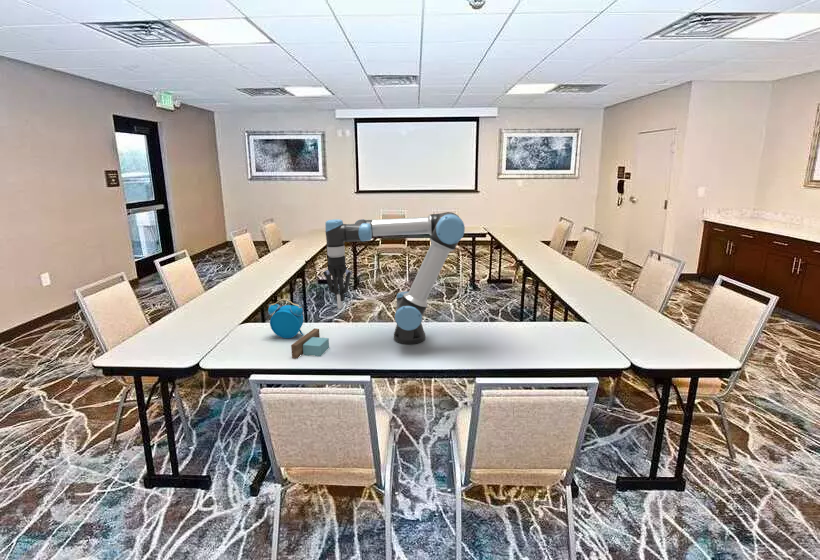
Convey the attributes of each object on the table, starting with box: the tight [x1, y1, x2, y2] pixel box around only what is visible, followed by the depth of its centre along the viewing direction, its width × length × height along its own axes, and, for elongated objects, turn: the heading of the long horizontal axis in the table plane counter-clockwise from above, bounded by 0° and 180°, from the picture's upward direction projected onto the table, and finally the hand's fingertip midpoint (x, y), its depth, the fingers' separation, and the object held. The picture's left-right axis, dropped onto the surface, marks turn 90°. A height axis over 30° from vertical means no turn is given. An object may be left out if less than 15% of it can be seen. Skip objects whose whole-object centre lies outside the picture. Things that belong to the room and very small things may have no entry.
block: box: [302, 337, 330, 357], centre depth 212 cm, size 8×10×5 cm
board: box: [290, 328, 321, 359], centre depth 214 cm, size 2×22×6 cm, turn 165°
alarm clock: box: [267, 298, 304, 339], centre depth 228 cm, size 17×10×20 cm, turn 84°
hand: (340, 307), depth 209 cm, fingers closed
